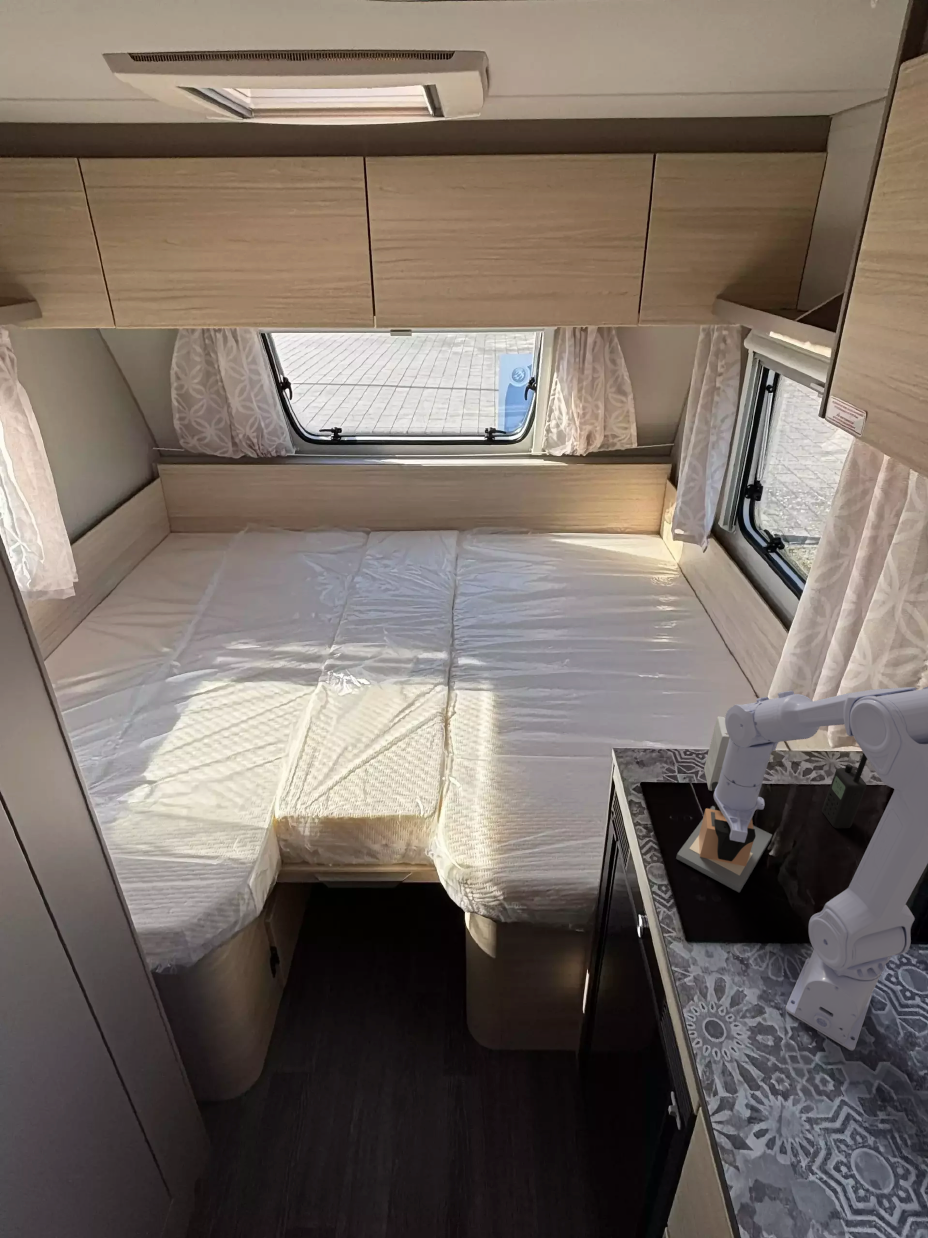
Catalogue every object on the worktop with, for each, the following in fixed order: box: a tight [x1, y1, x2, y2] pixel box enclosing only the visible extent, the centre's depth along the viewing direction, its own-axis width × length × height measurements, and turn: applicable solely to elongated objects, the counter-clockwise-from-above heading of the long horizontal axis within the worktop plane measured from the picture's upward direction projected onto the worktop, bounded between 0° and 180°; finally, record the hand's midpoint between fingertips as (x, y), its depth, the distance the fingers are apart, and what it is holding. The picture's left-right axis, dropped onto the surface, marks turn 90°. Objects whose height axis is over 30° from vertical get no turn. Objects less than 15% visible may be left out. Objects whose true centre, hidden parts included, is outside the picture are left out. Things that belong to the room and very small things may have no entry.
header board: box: [675, 805, 773, 893], centre depth 110 cm, size 14×10×4 cm
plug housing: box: [699, 807, 754, 866], centre depth 108 cm, size 4×7×6 cm, turn 76°
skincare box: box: [703, 715, 730, 792], centre depth 123 cm, size 6×4×12 cm
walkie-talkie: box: [821, 752, 868, 829], centre depth 114 cm, size 5×3×15 cm
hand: (723, 842), depth 109 cm, fingers open, 6 cm apart
